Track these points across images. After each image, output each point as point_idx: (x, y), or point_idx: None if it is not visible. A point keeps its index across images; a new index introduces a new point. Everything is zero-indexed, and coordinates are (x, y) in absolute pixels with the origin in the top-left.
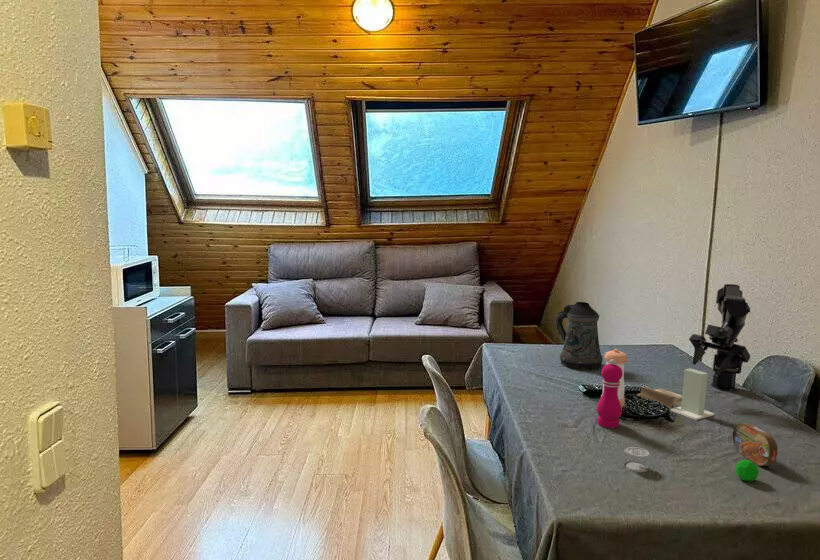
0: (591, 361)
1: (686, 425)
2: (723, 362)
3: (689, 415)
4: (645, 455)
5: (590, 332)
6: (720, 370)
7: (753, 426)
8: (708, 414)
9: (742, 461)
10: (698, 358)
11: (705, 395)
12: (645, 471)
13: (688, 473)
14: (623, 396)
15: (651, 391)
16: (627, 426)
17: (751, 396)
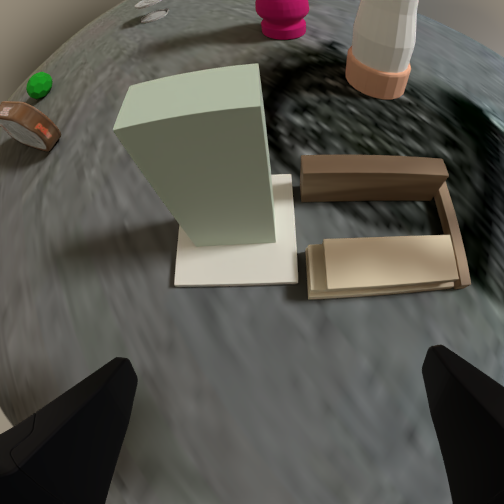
0: None
1: None
2: (64, 413)
3: None
4: (137, 4)
5: None
6: (112, 363)
7: (9, 112)
8: (179, 251)
9: (39, 73)
10: (455, 441)
11: (169, 209)
12: (141, 20)
13: (101, 48)
14: (360, 58)
15: (398, 158)
16: (256, 44)
17: None
